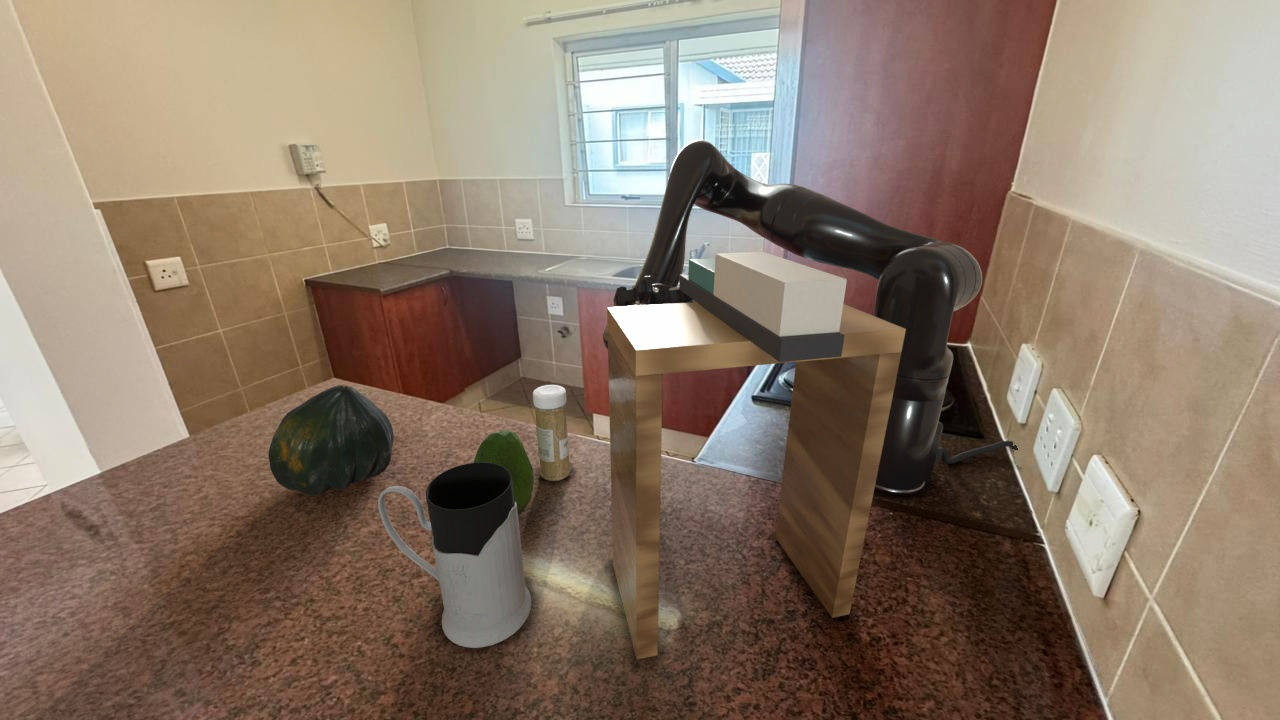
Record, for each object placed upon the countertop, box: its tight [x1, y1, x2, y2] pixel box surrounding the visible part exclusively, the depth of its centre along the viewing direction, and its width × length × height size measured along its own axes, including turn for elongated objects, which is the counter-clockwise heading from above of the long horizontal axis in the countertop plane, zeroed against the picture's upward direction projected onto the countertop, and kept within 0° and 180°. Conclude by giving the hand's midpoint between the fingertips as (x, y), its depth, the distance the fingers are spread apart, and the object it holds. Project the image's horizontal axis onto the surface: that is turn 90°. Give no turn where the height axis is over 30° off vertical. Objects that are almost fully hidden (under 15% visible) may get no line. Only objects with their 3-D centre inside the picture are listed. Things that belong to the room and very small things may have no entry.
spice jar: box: [532, 384, 572, 482], centre depth 71 cm, size 5×5×13 cm
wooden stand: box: [606, 302, 906, 660], centre depth 48 cm, size 22×12×30 cm, turn 103°
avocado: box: [472, 429, 535, 516], centre depth 63 cm, size 8×8×12 cm
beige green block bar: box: [678, 251, 848, 363], centre depth 42 cm, size 5×22×5 cm, turn 13°
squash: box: [268, 384, 395, 497], centre depth 70 cm, size 14×15×15 cm
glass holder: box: [377, 462, 533, 649], centre depth 49 cm, size 9×14×15 cm, turn 80°
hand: (685, 282), depth 58 cm, fingers open, 8 cm apart
